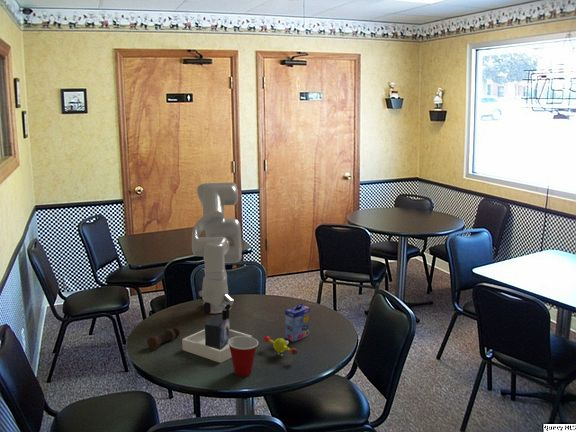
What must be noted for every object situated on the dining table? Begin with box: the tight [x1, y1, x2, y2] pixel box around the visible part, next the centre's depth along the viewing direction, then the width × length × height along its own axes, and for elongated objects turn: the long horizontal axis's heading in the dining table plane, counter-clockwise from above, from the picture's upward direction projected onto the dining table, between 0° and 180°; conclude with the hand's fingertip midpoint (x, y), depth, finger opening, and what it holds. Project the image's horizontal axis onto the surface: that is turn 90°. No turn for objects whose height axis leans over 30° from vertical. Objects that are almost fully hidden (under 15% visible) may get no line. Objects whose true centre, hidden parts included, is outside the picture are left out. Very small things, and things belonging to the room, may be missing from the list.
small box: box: [204, 314, 231, 350], centre depth 227 cm, size 11×6×10 cm, turn 164°
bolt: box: [146, 327, 181, 350], centre depth 234 cm, size 6×5×15 cm
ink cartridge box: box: [284, 302, 311, 342], centre depth 237 cm, size 10×6×14 cm, turn 137°
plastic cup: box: [228, 336, 259, 377], centre depth 206 cm, size 11×11×12 cm
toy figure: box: [263, 335, 298, 357], centre depth 220 cm, size 18×6×7 cm, turn 42°
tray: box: [181, 328, 253, 364], centre depth 228 cm, size 20×18×4 cm
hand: (216, 316), depth 226 cm, fingers open, 9 cm apart
